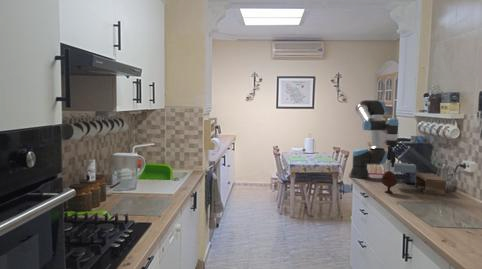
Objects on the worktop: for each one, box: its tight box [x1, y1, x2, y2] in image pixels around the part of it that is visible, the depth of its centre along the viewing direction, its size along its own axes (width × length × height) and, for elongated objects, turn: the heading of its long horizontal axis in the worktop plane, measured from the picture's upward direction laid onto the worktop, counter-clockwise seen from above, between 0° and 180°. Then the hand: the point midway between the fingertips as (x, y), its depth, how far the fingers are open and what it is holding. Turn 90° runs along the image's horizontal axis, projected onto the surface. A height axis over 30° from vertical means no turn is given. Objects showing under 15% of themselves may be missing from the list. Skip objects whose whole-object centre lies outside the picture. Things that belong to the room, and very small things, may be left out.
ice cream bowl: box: [380, 170, 399, 195], centre depth 254 cm, size 11×11×15 cm
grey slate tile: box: [385, 162, 417, 174], centre depth 272 cm, size 10×18×5 cm, turn 80°
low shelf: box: [414, 172, 447, 196], centre depth 263 cm, size 26×12×10 cm, turn 170°
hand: (390, 170), depth 273 cm, fingers closed on grey slate tile, 10 cm apart
